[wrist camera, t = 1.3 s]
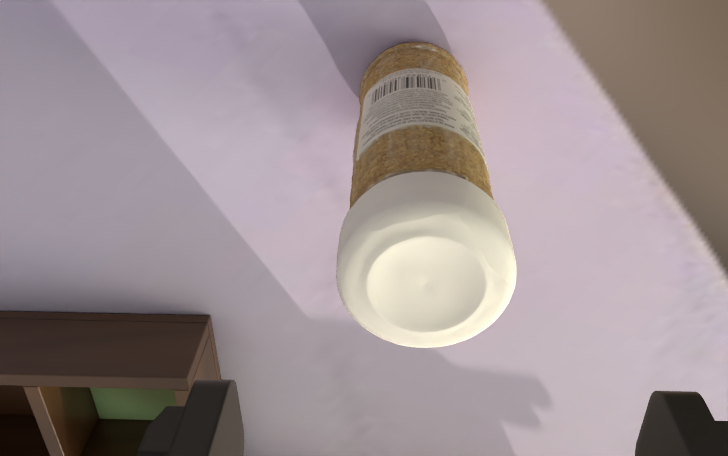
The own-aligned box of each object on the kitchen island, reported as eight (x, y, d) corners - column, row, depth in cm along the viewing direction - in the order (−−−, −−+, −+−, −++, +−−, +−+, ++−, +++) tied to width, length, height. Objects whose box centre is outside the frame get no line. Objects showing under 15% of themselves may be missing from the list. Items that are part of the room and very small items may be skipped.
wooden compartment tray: (-75, 309, 35) (-134, 370, 31) (210, 314, 35) (186, 378, 31) (10, 491, 44) (-29, 558, 40) (242, 499, 43) (226, 568, 39)
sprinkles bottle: (357, 137, 29) (330, 348, 18) (364, 32, 26) (337, 200, 15) (461, 145, 29) (501, 362, 18) (477, 41, 26) (537, 215, 15)
